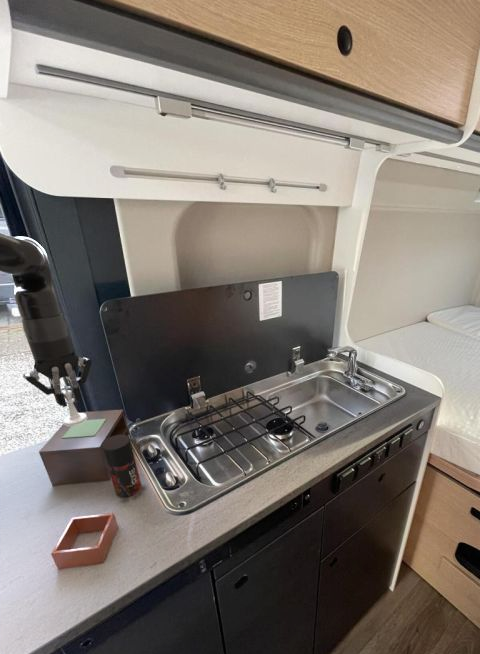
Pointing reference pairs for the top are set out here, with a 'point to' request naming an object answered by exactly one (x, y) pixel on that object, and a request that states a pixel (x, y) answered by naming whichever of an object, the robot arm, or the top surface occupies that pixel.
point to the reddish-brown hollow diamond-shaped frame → (87, 555)
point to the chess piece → (72, 410)
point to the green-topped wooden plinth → (82, 448)
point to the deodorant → (122, 465)
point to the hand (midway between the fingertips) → (70, 403)
